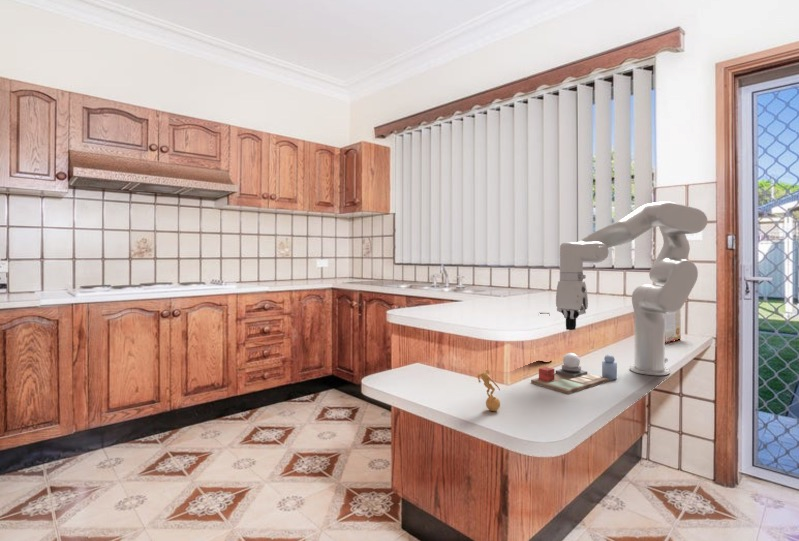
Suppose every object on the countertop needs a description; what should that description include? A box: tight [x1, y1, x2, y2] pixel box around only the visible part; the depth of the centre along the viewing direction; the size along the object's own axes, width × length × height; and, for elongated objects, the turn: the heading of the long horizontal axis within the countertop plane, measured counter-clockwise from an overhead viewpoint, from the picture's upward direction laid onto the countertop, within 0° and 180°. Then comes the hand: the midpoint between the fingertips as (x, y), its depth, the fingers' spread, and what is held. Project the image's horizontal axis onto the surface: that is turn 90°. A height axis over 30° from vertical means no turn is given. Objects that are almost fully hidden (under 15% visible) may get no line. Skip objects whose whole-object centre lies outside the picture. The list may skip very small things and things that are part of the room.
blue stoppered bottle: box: [601, 354, 618, 381], centre depth 150 cm, size 5×5×8 cm
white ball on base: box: [561, 352, 582, 371], centre depth 152 cm, size 6×6×6 cm
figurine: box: [477, 369, 501, 412], centre depth 121 cm, size 8×6×12 cm
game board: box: [530, 366, 609, 395], centre depth 146 cm, size 22×14×5 cm, turn 124°
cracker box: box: [662, 308, 682, 343], centre depth 207 cm, size 14×6×21 cm, turn 119°
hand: (570, 329), depth 152 cm, fingers closed
